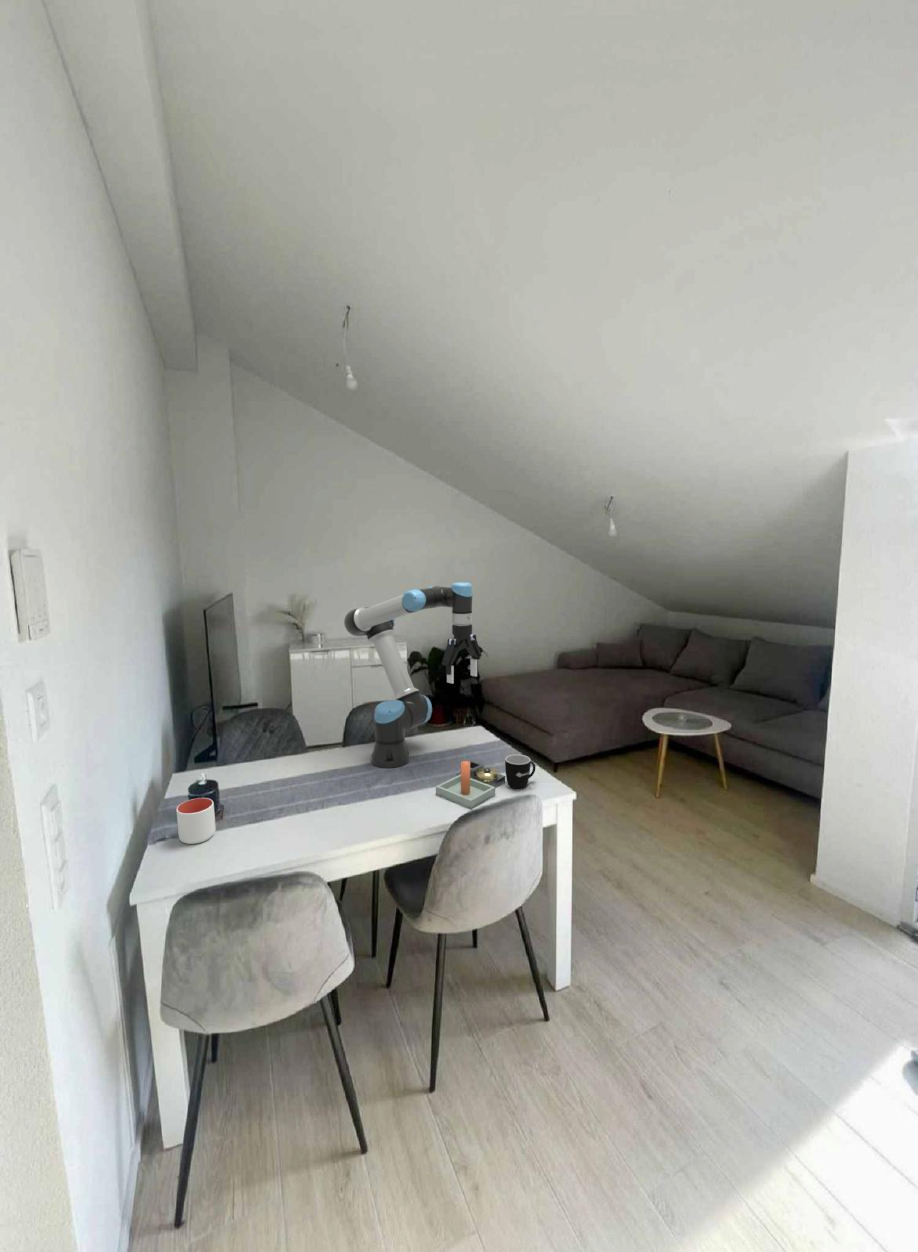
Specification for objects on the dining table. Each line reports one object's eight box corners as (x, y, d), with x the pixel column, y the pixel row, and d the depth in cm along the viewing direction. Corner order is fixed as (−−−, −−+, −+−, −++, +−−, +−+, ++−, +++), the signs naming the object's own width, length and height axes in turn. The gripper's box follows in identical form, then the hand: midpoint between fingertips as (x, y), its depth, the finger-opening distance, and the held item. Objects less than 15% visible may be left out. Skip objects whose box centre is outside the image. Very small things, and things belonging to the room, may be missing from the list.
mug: (513, 793, 194) (514, 766, 192) (500, 783, 202) (500, 757, 200) (542, 786, 199) (542, 759, 198) (527, 777, 207) (528, 751, 206)
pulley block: (505, 782, 203) (505, 768, 202) (488, 791, 195) (488, 777, 194) (473, 771, 212) (473, 757, 212) (456, 779, 205) (456, 765, 204)
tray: (435, 794, 193) (435, 786, 193) (460, 782, 203) (460, 774, 203) (471, 809, 183) (471, 800, 182) (495, 795, 193) (495, 787, 192)
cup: (187, 828, 171) (184, 798, 170) (220, 827, 172) (218, 797, 171) (173, 846, 162) (170, 814, 160) (209, 845, 162) (206, 813, 161)
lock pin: (458, 793, 193) (458, 762, 191) (464, 789, 195) (465, 760, 193) (465, 795, 191) (466, 765, 189) (471, 792, 193) (472, 762, 191)
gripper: (447, 629, 197) (447, 687, 200) (490, 621, 215) (490, 674, 219) (431, 627, 201) (432, 684, 205) (475, 619, 220) (475, 671, 223)
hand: (462, 679), depth 212 cm, fingers open, 13 cm apart
